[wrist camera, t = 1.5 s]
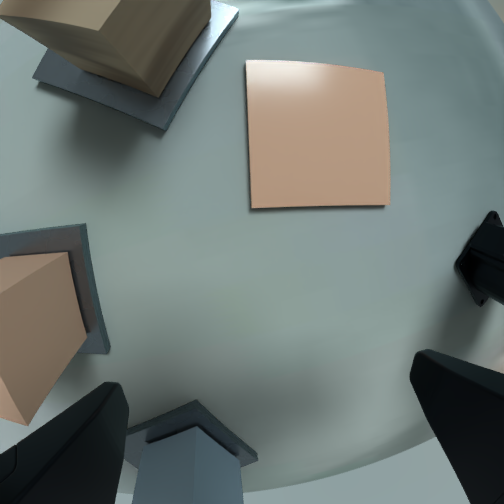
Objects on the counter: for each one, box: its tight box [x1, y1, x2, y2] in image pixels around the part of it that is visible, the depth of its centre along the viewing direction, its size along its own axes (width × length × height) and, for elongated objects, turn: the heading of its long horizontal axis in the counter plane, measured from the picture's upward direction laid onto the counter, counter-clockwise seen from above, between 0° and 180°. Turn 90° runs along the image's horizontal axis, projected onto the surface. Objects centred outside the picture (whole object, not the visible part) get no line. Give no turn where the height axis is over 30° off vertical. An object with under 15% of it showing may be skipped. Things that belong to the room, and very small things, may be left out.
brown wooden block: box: [0, 0, 211, 98], centre depth 9 cm, size 6×6×9 cm
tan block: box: [0, 252, 87, 426], centre depth 12 cm, size 6×6×9 cm
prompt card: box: [245, 60, 390, 208], centre depth 17 cm, size 9×9×1 cm
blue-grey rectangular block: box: [132, 426, 244, 504], centre depth 17 cm, size 6×6×9 cm
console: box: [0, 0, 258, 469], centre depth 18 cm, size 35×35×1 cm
